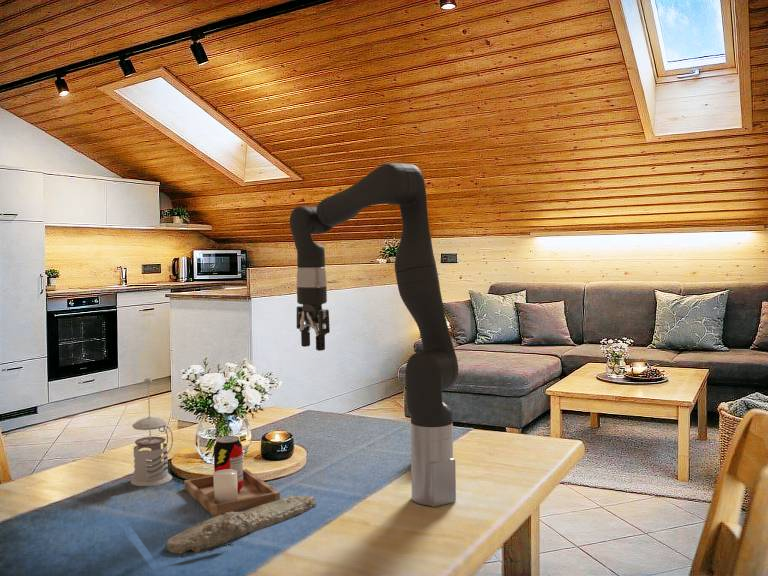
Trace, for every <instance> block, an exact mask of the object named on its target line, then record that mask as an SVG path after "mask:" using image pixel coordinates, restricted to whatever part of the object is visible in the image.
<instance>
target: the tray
mask: <svg viewBox="0 0 768 576" xmlns="http://www.w3.org/2000/svg"><path fill="white" fill-rule="evenodd" d="M183 484H184V485H183V486H184V487H183V489H184V490H185V492H186V493H187V494H189V495H190V496H191V497H192V498H193V499H195V501H196V502H197V503H198V504H199V505H201V506H202V507H203V508H204V510H206V512H208V513H209V514H210V516H212V517H216V516H217V515H220V514H221V515H224V514H225V513H227V512H232V511H233V512H240V511H243V510H244V511H245V510H248V509H251V508H254V507H257V506H260V505H263V504H266V503H270V502H274V501H277V500H280V499H281V498H280V497H281V492H280V491H278V490H277V489H275V488H274V487H273V486H271V485H270V484H268V483H267V482H266V481H264V480H263V479H261V478H260V477H258V476H256V475H255V474H254V473H252V472H251V471H249V470H248V469H247V468H245V469H244V468H243V487H242V488H241V489H240V490H239V491H238V500H233V501H228V502H223V503H218V504H215V503H214V480H213V474H212V475H206V476H202V477H201V476H199V477H195V478H190V479H185V480H183Z"/></svg>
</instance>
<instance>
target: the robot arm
mask: <svg viewBox="0 0 768 576" xmlns="http://www.w3.org/2000/svg"><path fill="white" fill-rule="evenodd" d="M384 204H385V205H389V206H390V205H391V206H392V205H393V206H399V210H400V216H401V222H402V229H401V230H402V231H401V236H400V240H399V244H398V246H397V247H398V248H397V249H396V254H395V258H394V273H395V278H396V283H397V284H396V285H397V290H398V293H399V296H400V298H401V300H402V302H403V304H404V306H405V307H406V310H407V311H408V312H409V314H410V315H411V316H412V318H413V320H414V321H415V323H416V326H417V328H418V331H419V333H420V334H419V335H420V338H421V344H422V350H421V351H418V352H415V353H413V354H411V356H410V357H409V358H408V360H407V362H406V366H405V370H404V371H405V372H404V373H405V375H404V380H405V381H404V383H405V394H406V395H405V398H406V408H407V411H408V413H409V415H410V453H411V454H410V460H411V461H410V462H411V463H410V464H411V466H410V467H411V469H410V472H411V499H412V501H413V502H414V503H416V504H419V505H424V506H430V507H433V508H434V507H439V506H443V505H448V504H451V503H456V502H457V498H456V497H457V487H456V486H457V484H456V481H457V480H456V478H457V476H456V471H457V470H456V469H457V468H456V459H455V458H454V446H453V445H454V437H453V435H454V431H453V430H454V425H453V422H454V421H453V411H452V408H450V407H449V406H448V407H446V406H444V405H443V403H444V401H443V391H442V390H445V389H448V388H450V387H451V386H453V385H454V384H455V383H456V381H457V379H458V375H459V362H458V358H457V353H456V350H455V348H454V344H453V340H452V338H451V334H450V330H449V327H448V322H447V318H446V313H445V307H444V302H443V298H442V293H441V287H440V279H439V275H438V270H437V263H436V258H435V255H434V254H435V253H434V249H433V244H432V243H433V242H432V237H431V229H430V224H429V213H428V200H427V191H426V182H425V178H424V175H423V173H422V171H421V169H420V168H419V167H418V166H417V165H415V164H411V163H404V162H403V163H400V162H387V163H383V164H381V165H380V166H378V167H376V168H374V170H372V171H371V172H369V173H368V174H366V176H364V177H362V178H361V179H360V180H358V181H357V182H356V183H354V184H353V185H351V186H348V187H347V188H346V189H343V190H341V191H339V192H337V193H334V194H332V195H330V196H327V197H325V198H323V199H322V200H321V201H319V203H318V204H317V206H314V205H313V206H311V205H310V206H309V205H308V206H305V205H299V206H296V207H295V208H294V209H292V211H291V213H290V216H289V227H290V231H291V235H292V239H293V243H294V246H295V249H296V254H297V255H296V259H297V260H296V261H297V262H296V263H297V264H296V267H297V271H296V301H297V304H298V305H299V306H298V305H297V306H296V329H297V330H299V333H300V335H301V336H300V340H301V341H300V343H301V347H303V348H305V347H310V346H311V332H310V330H311V328H312V329H313V331H314V334H315V350H316V351H320V352H321V351H325V350H326V335H327V334H330V331H331V330H330V313H329V312H330V311H329V309H327V308H324V309H323V306H322V305H324V304H326V303H327V302H328V299H327V297H328V295H327V292H328V291H327V290H328V289H327V273H326V272H327V271H326V254H325V253H326V251H325V247H324V245H322V244H320V243H316V242H314V240H313V237H312V235H322V234H326V233H328V232H330V231H331V230H332V229H333V228H335V227H336V226H337V225H340V224H342V223H345V222H347V221H349V220H352V219H354V218H355V217H357V216H358V215H359V214H360V212H361V211H362V210H364V209H365V208H367V207H371V206H377V205H384Z"/></svg>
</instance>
